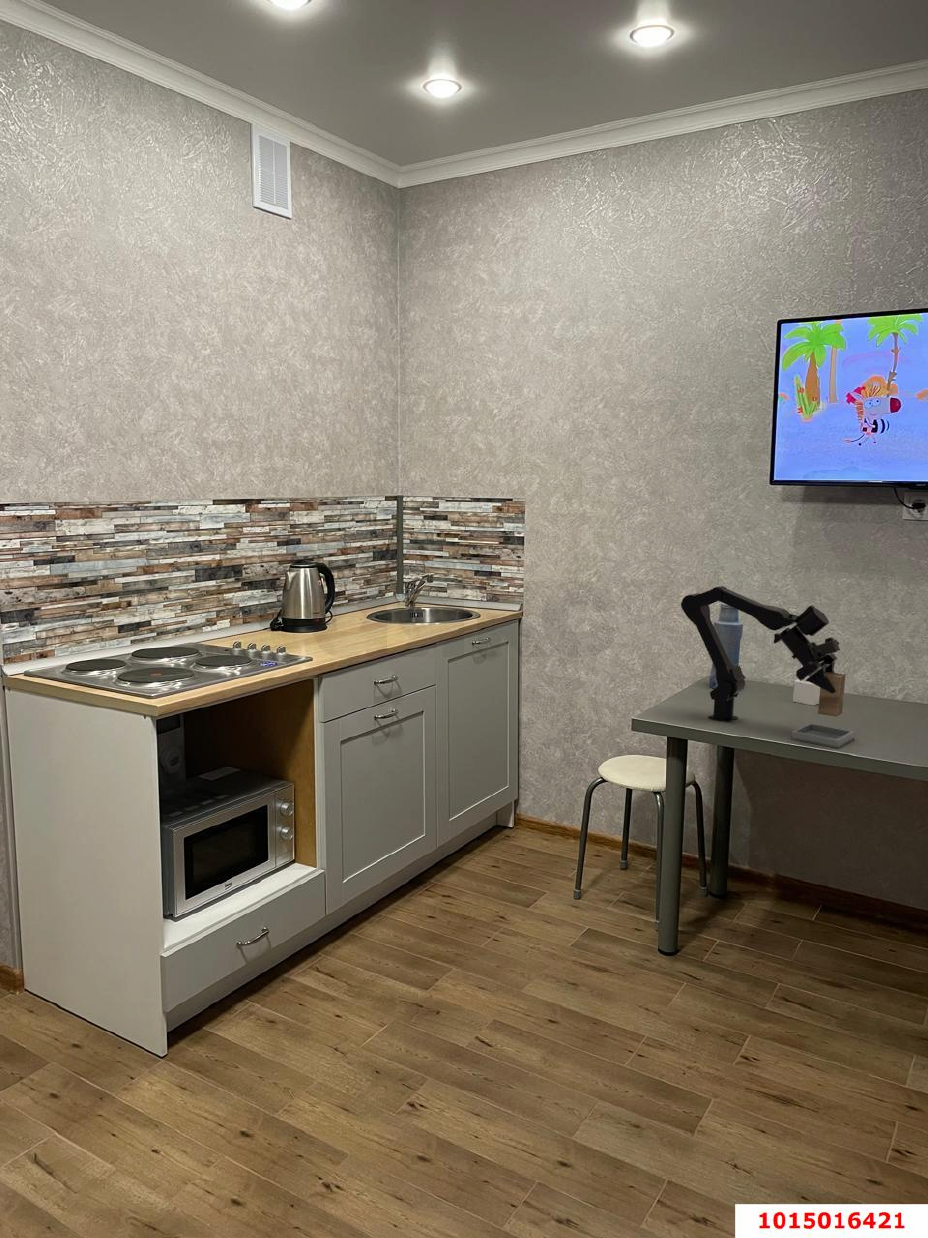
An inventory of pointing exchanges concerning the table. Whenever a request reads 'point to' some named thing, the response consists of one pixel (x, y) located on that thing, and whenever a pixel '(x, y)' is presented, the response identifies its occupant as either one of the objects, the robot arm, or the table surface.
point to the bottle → (728, 637)
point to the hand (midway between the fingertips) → (837, 690)
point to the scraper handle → (832, 696)
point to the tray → (823, 735)
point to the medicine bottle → (806, 692)
